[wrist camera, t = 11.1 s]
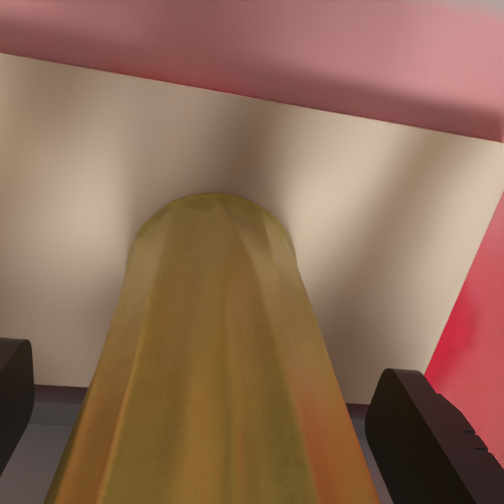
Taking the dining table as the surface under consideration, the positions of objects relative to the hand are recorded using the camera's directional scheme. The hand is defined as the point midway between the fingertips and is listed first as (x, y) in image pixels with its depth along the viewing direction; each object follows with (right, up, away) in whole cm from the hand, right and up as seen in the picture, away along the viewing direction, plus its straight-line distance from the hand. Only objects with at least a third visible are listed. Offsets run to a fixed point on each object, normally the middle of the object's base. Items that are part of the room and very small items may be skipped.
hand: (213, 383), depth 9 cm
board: (-1, +3, +6) cm, 7 cm away
